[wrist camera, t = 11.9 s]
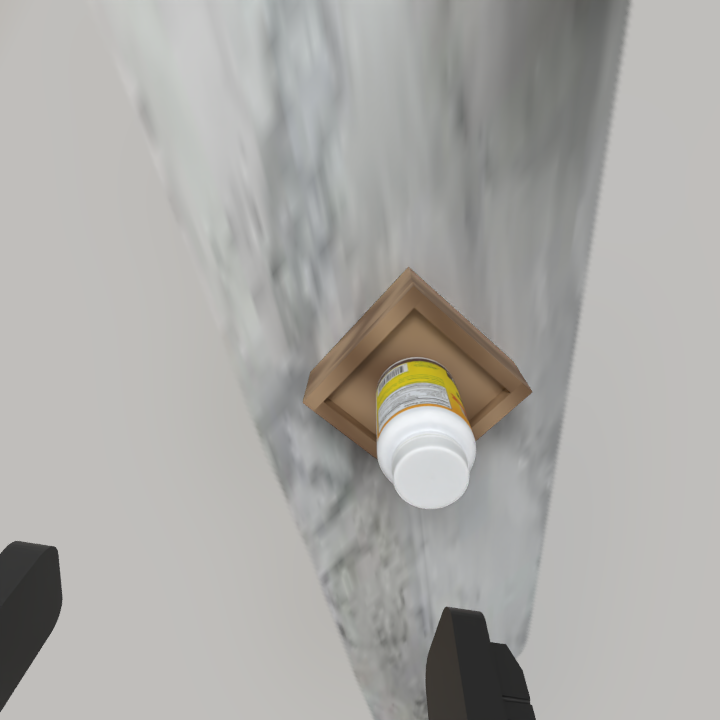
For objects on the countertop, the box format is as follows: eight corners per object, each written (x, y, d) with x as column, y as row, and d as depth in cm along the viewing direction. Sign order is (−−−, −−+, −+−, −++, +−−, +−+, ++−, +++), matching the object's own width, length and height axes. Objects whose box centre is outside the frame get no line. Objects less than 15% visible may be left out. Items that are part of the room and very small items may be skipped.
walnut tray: (408, 266, 36) (413, 285, 32) (513, 361, 39) (532, 392, 35) (310, 372, 40) (302, 402, 35) (413, 452, 43) (418, 490, 38)
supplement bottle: (447, 428, 37) (473, 528, 28) (370, 419, 37) (370, 516, 27) (463, 358, 35) (496, 440, 25) (381, 348, 35) (385, 427, 25)
